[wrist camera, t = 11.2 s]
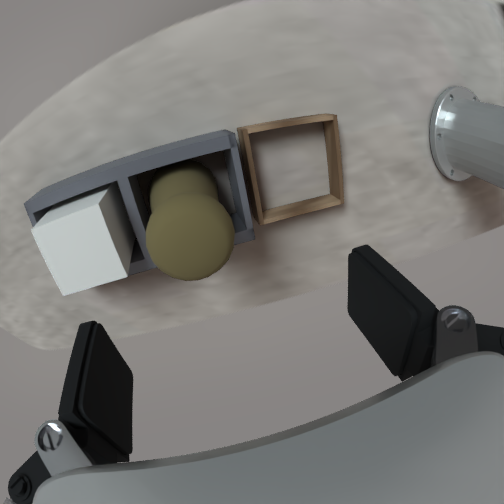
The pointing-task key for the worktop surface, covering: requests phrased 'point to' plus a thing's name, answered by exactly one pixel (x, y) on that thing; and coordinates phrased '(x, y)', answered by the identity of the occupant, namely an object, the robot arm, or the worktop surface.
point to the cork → (187, 222)
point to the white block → (86, 239)
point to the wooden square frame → (307, 205)
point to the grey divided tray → (131, 191)
